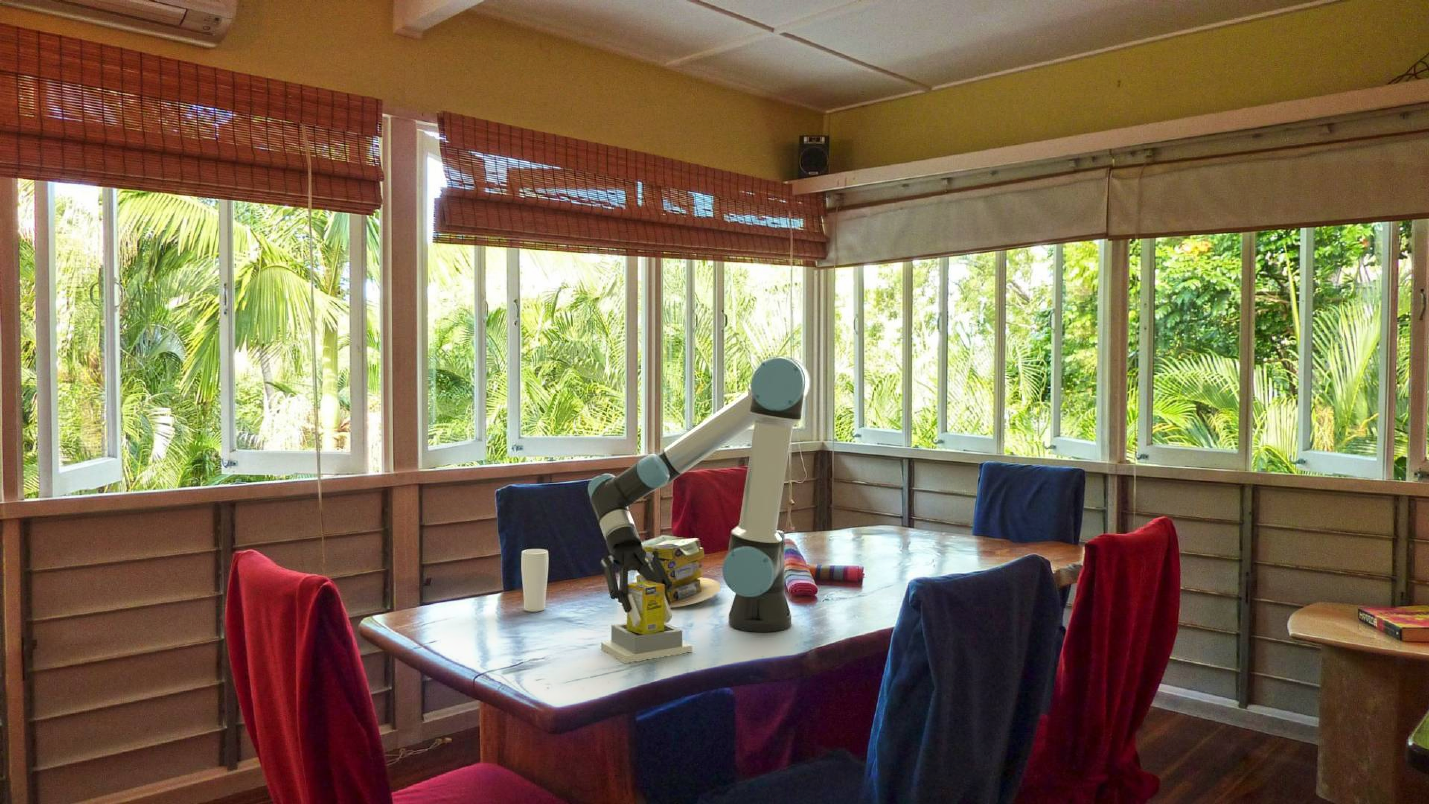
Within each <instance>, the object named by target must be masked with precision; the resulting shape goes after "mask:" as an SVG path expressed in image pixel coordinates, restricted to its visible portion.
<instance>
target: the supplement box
mask: <svg viewBox="0 0 1429 804" xmlns="http://www.w3.org/2000/svg"><path fill="white" fill-rule="evenodd" d="M628 594H632V596H633V599H634V602H635V605H636V607H637V610H638V613H639V616H640V618H641V621H640V623H639V624H638V626H637V627H633V624H632V621H631V618H630V615H629V613H628V612H626V623H627V630H628V631H630V632H632V633H633V634H635V635H637V636H638V635H645V634H651V633H658V632H664V622H665V620H664V596H665V585H664V584H660V583H656V582H652V581H648V580H646V581H641V582H637V581H636V582H631V583H629V582H628V593H627V595H628Z"/></svg>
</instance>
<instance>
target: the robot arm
mask: <svg viewBox="0 0 1429 804" xmlns="http://www.w3.org/2000/svg"><path fill="white" fill-rule="evenodd" d="M750 380H751V381H750V384H748V387H747V388H748V389H747V391H746V392H744V393H743V394H741V395H739V396H738V397H736V398H735V399H734V400H733V401H731V402H730V403H728V404H726V406H724V407H723V408H721V409H720V410H718V411H716V412H715V413H714V414H713V415H711V416H709V417H708V418H707V419H706V420H704V421H702V422H701V423H699V424H698V425H697V426H695V427H693V428H692V429H691V430H689V431H688V432H687V433H685V434H684V435H683V436H681V437H679V438H678V439H677V440H675V441H674V442H673V443H671V444H669V445H668V446H667V447H665V448H664V449H662V450H660V451H659V452H657V453H656V454H655V453H651V454H648V455H646V456H645V457H642V458H640V459H639V460H638V461H637V462H635V463H634V464H632V465H631V466H630V467H628V468H627V469H626V470H624V471H623V472H621V473H620V474H618V475H616V476H615V475H614V474H611V473H603V474H602V475H597V476H595V477H593V478H592V479H591V480H590V481H589V483H588V485H587V493H588V495H589V499H590V500H589V501H590V504H591V505H592V508H593V510H594V513H595V516H596V518H597V521H598V525H599V527H600V529H601V532H602V534H603V538H604V540H605V543H606V546H607V550H608V552H609V554H610V555H607V554H605V555H604V556H603V557H602V559H601V560H600V562H599V563H600V566H601V567H602V568H603V570H604V574H605V579H606V582H607V588H608V591H609V593H608V594H609V597H610V599H611V600H616V599H617V602H618V603H619V604H621V605H622V608H623V611H624V612H625V613H627V612H628V613H629V615H630V618H631V621H632V624H633V627H637V626H638V624H639V623H640V621H641V618H640V616H639V613H638V610H637V607H636V605H635V602H634V599H633V596H632V594H628V595H627V593H628V584H629V572H631V571H635V572H637V573H638V575H640V574H641V575H642V576H643V577H644V578H645V579H646V580H648V581H652V582H656V583H660V584H664V585H665V596H664V622H665V623H667V624H669V622H670V621H671V619H672V618H673V613H672V609H671V607H669V605H670V599H669V597H668V594H667V593H668V592H669V590H670V589H671V587H672V583H671V581H670V579H669V577H668V575H667V573H666V571H665V569H664V568H663V566H662V564H661V562H660V560H659V556H658V552H657V551H653V553H650V552H646V551H645V549H644V548H643V547H642V544H641V542H642V540H641V538H640V535H639V533H638V532H639V531H638V530H637V529H636V528H637V527H636V524H635V522H634V519H633V517H632V515H631V512H630V510H629V507H630V506H632V505H634V504H635V503H636V502H638V501H639V500H641V499H643V498H644V497H646V496H648V495H649V494H650V493H652V492H655V491H657V490H659V489H662V488H665V487H666V486H669V485H670V484H671V483H672V482H673V481H674V480H676V479H677V478H679V477H680V476H681V475H682V474H684V473H685V472H687V471H688V470H690V469H691V468H693V467H694V466H697V464H698V463H700V462H702V460H704V459H706V458H708V457H709V456H710V455H712V454H713V453H714V452H716V451H718V450H719V449H721V448H722V447H724V446H725V445H726V444H727V443H729V442H731V441H732V440H733V439H735V438H736V437H739V435H741V434H743V433H744V432H745V431H748V429H750V428H752V427H753V434H752V440H751V446H750V451H749V457H748V465H747V471H746V477H745V483H744V490H743V497H742V503H741V504H742V505H741V511H740V516H739V517H740V518H739V521H738V525H737V526H735V527H734V528H733V529H731V531H730V537H729V544H728V549H727V554H726V555H725V557H724V560H723V562H722V568H721V569H722V570H721V571H722V577H723V580H724V583H725V584H726V586H727V587H728V588H729V590H731V591H732V592H734V594H735V595H734V598H733V601H732V603H731V607H730V611H729V613H728V625H729V626H730V627H732V628H735V629H737V630H742V631H747V632H756V633H757V632H758V633H759V632H760V633H763V632H764V633H766V632H776V631H777V632H778V631H779V632H780V631H783V630H786V629H788V628H790V627H791V626H792V613H791V611H790V607H789V604H788V600H787V598H786V593H785V582H786V581H785V579H786V578H785V573H786V572H785V569H786V568H785V567H786V566H785V564H786V563H785V562H786V561H785V559H786V556H785V555H786V551H785V550H786V549H785V546H786V544H787V542H786V536H785V535H786V534H785V532H783V531H782V530H777V529H778V524H779V517H780V510H781V503H782V497H783V491H784V484H785V480H786V479H785V477H786V471H787V465H788V460H789V453H790V446H791V440H792V434H793V428H794V427H795V425H797V424H799V422H801V420H802V415H803V408H804V402H805V401H804V400H805V399H806V397H807V395H808V393H809V391H810V388H811V377H810V373H809V372H808V370H807V368H806V366H804V364H803V363H802V362H800V361H799V360H798V359H795V358H792V357H787V356H778V355H776V356H772V357H769V358H766V359H765V360H763V361H762V362H760V364H759V365H757V366H756V368H755V369H754V371H753V373H752V376H751V379H750ZM645 558H647V559H648V562H647V561H646V560H645ZM648 563H650V564H651V567H652V569H653V571H654V572H653V571H652V569H651V568H650V567H649V564H648ZM614 564H615V565H616V566H617V567H618V575H619V581H618V580H617V576H616V572H615V566H614ZM618 582H619V583H618Z"/></svg>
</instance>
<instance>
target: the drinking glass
mask: <svg viewBox="0 0 1429 804" xmlns="http://www.w3.org/2000/svg"><path fill="white" fill-rule="evenodd" d="M520 560H521V563H520V564H521V565H520V566H521V567H520V568H521V581H522V590H523V591H522V592H523V593H522V594H523V609H524V611H525V612H530V613H532V612H533V613H537V612H542V611H544V610H545V608H546V599H547V598H546V597H547V585H548V575H549V551H548V550H547V549H543V548H530V549H524V550H522V551H521V557H520Z"/></svg>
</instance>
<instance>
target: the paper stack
mask: <svg viewBox="0 0 1429 804" xmlns="http://www.w3.org/2000/svg"><path fill="white" fill-rule="evenodd" d="M700 541H701V540H700V539H699V538H697V537H694V538H687V537H683V536H681V537H678V536H671V535H666V534H665V535H660V536H658V537H653V538H650V539H647V540H643V541H641V544H642V547H643V548H644V549H645V551H646V552H650V553H653V551H657V552H658V556H659V560H660V562H661V564H662V566H663V568H664V569H665V571H666V573H667V575H668V577H669V579H670V581H671V583H672V587H671V589H670V590H669V592H668V593H667V594H668V597H669V599H670V605H669V607H670V608H677V607H678V608H679V607H685V606H689V605H693V604H696V603H699V602H700V603H701V602H703V601H706V600H708V599H710V598H712V597H714V596H716V595H717V594H718V593H719V592H720V591H721V590H722V584H721V583H720V582H719V581H718V580H715V579H713V578H708V577H703V575H702V567H703V564H702V563H699V560H702V559H704V558H705V551H704V547H701V542H700ZM645 560H646V561H647V562H648V559H647V558H645ZM648 564H649V567H650V568H651V569H652V567H651V564H650V563H648ZM652 571H653V569H652ZM653 572H654V571H653ZM635 578H636V582H641V581H646V579H645V578H644V577H643V576H642V575H641V574H637V575H636V576H635Z"/></svg>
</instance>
